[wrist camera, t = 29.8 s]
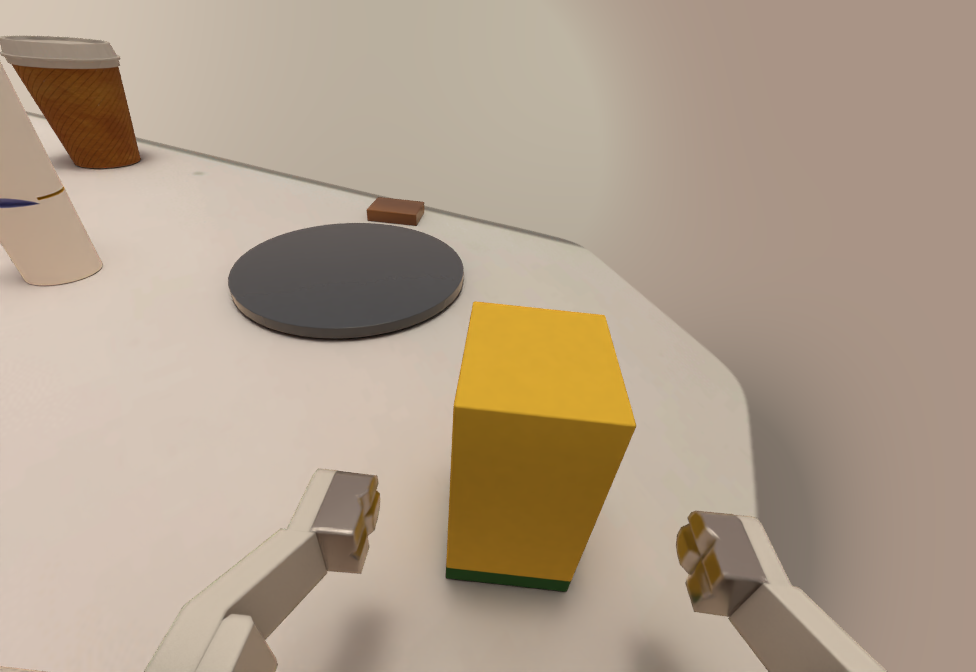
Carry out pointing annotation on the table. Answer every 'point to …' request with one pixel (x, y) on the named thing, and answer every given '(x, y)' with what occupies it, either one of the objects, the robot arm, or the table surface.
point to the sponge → (532, 444)
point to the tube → (37, 204)
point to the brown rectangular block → (395, 211)
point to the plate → (346, 280)
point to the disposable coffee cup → (77, 96)
